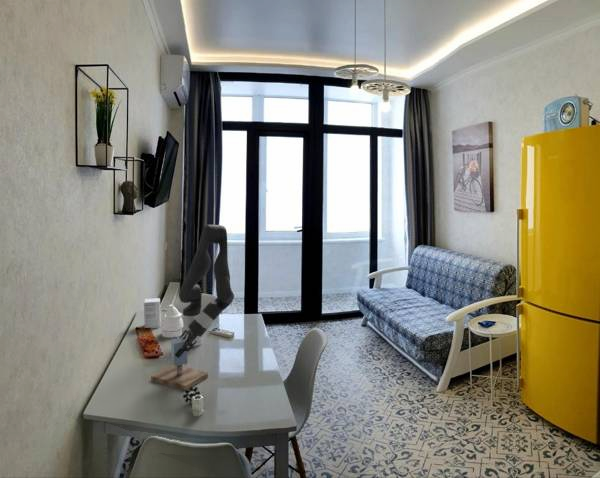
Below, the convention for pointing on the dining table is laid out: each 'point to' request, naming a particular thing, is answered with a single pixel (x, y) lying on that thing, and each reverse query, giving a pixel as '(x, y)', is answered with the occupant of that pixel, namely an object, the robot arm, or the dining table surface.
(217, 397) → the dining table surface
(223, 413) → the dining table surface
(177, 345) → the block
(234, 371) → the dining table surface
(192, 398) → the valve
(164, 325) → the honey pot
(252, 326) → the dining table surface
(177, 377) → the post plate
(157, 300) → the supplement box
